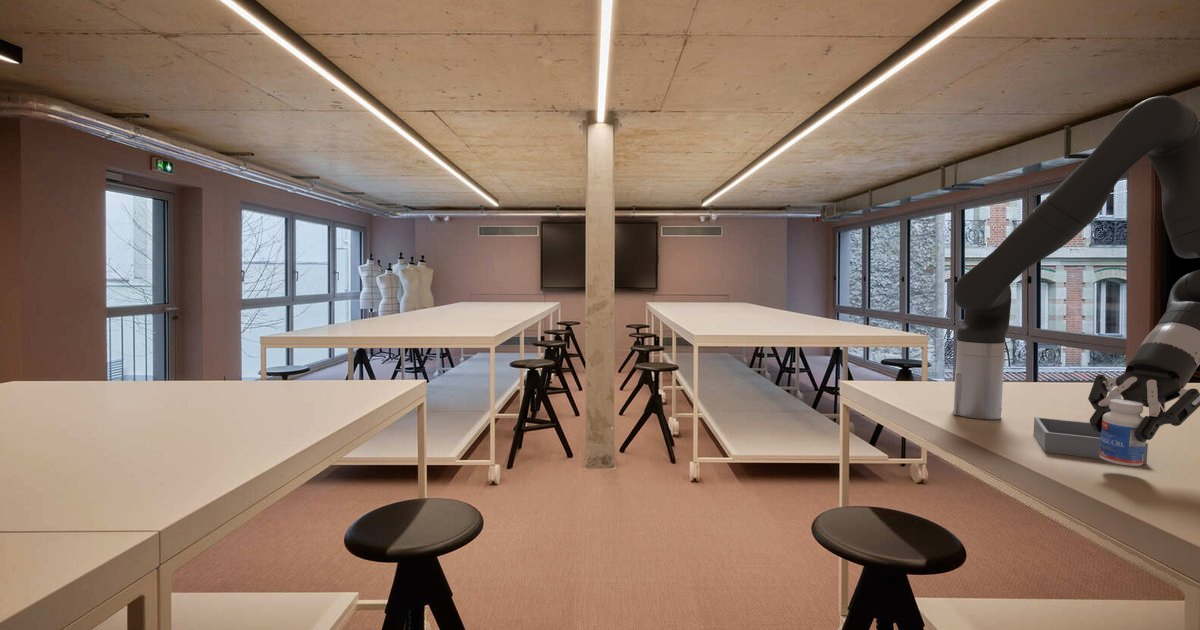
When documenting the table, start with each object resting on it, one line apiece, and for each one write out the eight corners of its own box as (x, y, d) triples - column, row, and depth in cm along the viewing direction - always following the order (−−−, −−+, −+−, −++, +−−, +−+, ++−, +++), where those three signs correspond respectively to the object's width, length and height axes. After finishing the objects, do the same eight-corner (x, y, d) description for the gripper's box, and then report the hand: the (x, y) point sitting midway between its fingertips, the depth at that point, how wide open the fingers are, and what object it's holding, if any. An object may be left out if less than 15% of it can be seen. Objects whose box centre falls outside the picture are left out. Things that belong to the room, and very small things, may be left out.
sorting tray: (1044, 451, 106) (1045, 432, 106) (1033, 434, 118) (1034, 417, 118) (1146, 464, 99) (1147, 443, 99) (1124, 444, 111) (1125, 426, 111)
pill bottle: (1090, 455, 97) (1094, 398, 96) (1119, 455, 97) (1124, 397, 97) (1122, 467, 91) (1127, 405, 91) (1153, 466, 92) (1158, 405, 91)
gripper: (1108, 336, 102) (1058, 408, 99) (1218, 346, 89) (1163, 430, 85) (1125, 364, 104) (1076, 436, 101) (1234, 379, 91) (1182, 462, 88)
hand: (1116, 433), depth 93 cm, fingers closed on pill bottle, 5 cm apart
